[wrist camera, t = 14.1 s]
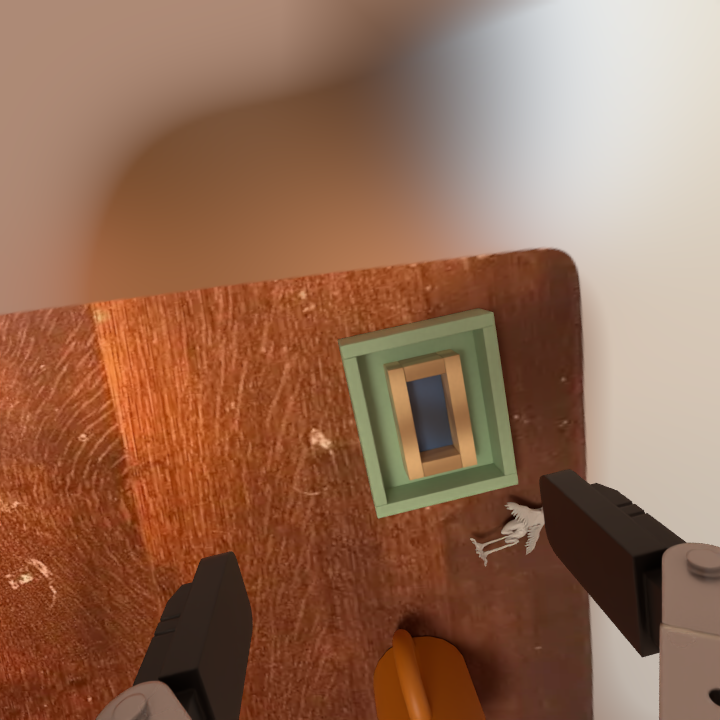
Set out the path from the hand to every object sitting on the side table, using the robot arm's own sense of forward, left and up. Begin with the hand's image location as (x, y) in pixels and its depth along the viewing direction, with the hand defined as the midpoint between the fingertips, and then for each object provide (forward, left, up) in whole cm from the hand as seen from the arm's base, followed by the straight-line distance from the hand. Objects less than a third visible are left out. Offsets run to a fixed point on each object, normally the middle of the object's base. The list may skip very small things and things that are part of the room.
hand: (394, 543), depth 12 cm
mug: (+30, +1, -26) cm, 40 cm away
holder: (+6, +6, -26) cm, 27 cm away
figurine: (+20, +11, -27) cm, 35 cm away
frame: (+6, +6, -26) cm, 27 cm away
